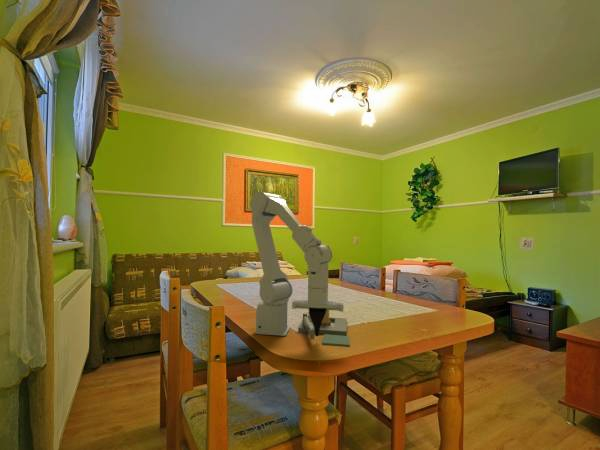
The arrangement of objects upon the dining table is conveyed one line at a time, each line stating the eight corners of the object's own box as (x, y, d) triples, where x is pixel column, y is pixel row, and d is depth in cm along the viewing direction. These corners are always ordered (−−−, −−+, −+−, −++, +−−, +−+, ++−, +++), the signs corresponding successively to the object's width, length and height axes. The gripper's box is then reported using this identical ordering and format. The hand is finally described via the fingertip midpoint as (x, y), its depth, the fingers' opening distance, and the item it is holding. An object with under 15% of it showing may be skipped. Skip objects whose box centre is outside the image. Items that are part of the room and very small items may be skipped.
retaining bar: (302, 322, 96) (302, 313, 96) (306, 322, 96) (306, 313, 96) (310, 339, 80) (310, 328, 81) (315, 339, 81) (315, 328, 81)
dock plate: (298, 331, 91) (298, 328, 91) (304, 319, 105) (304, 315, 105) (346, 335, 88) (346, 331, 88) (346, 321, 102) (346, 318, 102)
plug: (314, 326, 96) (314, 305, 97) (316, 322, 101) (316, 301, 102) (330, 327, 95) (330, 306, 96) (330, 323, 101) (331, 302, 101)
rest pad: (321, 344, 81) (321, 342, 81) (323, 335, 88) (323, 334, 88) (349, 346, 80) (349, 344, 80) (349, 337, 87) (349, 336, 87)
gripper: (343, 285, 86) (343, 332, 85) (295, 283, 88) (294, 328, 87) (343, 290, 79) (342, 340, 78) (291, 287, 81) (290, 336, 81)
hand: (317, 335), depth 82 cm, fingers closed
